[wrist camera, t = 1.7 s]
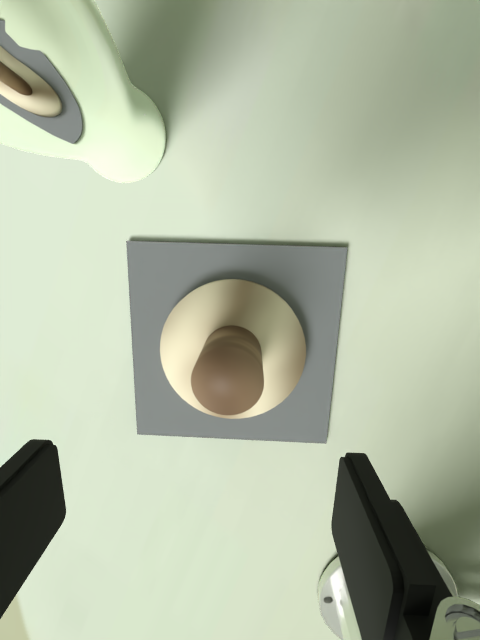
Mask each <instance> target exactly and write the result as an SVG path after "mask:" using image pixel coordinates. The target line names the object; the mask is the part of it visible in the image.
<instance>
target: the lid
mask: <svg viewBox="0 0 480 640" xmlns="http://www.w3.org/2000/svg"><path fill="white" fill-rule="evenodd" d="M160 356H161V362H162V366H163V370H164V372H165V375H166V377H167V379H168V381H169V383H170V384H171V386H172V387H173V389H174V390H175V391H176V392H177V394H178V395H179V396H180V397H181V398H182V399H183V400H185V401H186V402H187V403H188V404H190V405H191V406H193V407H194V408H196V409H198V410H200V411H202V412H204V413H206V414H209V415H212V416H216V417H220V418H228V419H241V418H248V417H253V416H257V415H259V414H262V413H265V412H267V411H269V410H271V409H272V408H274V407H276V406H277V405H278V404H280V403H281V402H282V401H283V400H284V399H286V398H287V397H288V396H289V394H290V393H291V392H292V391H293V390H294V388H295V386H296V385H297V383H298V381H299V379H300V377H301V375H302V372H303V368H304V365H305V358H306V344H305V337H304V333H303V330H302V327H301V325H300V323H299V320H298V319H297V317H296V315H295V314H294V312H293V310H292V309H291V307H290V306H289V305H288V304H287V303H286V301H285V300H283V299H282V298H281V297H280V296H279V295H278V294H276V293H275V292H274V291H272V290H271V289H269V288H267V287H265V286H263V285H261V284H258V283H255V282H252V281H247V280H242V279H223V280H217V281H213V282H210V283H207V284H204V285H202V286H200V287H198V288H196V289H195V290H193V291H192V292H190V293H189V294H188V295H186V296H185V297H184V298H183V299H182V300H181V301H180V302H179V303H178V304H177V305H176V306H175V307H174V308H173V310H172V311H171V313H170V314H169V316H168V318H167V320H166V322H165V324H164V327H163V331H162V334H161V340H160Z"/></svg>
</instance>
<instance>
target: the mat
mask: <svg viewBox="0 0 480 640" xmlns="http://www.w3.org/2000/svg"><path fill="white" fill-rule="evenodd" d="M126 243H127V260H128V278H129V296H130V314H131V331H132V349H133V367H134V385H135V403H136V420H137V434H141V435H161V436H182V437H202V438H223V439H243V440H264V441H284V442H305V443H325V444H326V442H327V433H328V423H329V414H330V405H331V396H332V386H333V377H334V368H335V359H336V349H337V340H338V331H339V321H340V312H341V303H342V294H343V284H344V275H345V266H346V257H347V247H316V246H283V245H249V244H215V243H182V242H148V241H126ZM223 279H242V280H247V281H252V282H255V283H258V284H261V285H263V286H265V287H267V288H269V289H271V290H272V291H274V292H275V293H276V294H278V295H279V296H280V297H281V298H282V299H283V300H285V301H286V303H287V304H288V305H289V306H290V307H291V309H292V310H293V312H294V314H295V315H296V317H297V319H298V320H299V323H300V325H301V327H302V330H303V333H304V337H305V344H306V358H305V365H304V368H303V372H302V375H301V377H300V379H299V381H298V383H297V385H296V386H295V388H294V390H293V391H292V392H291V393H290V394H289V396H288V397H287V398H286V399H284V400H283V401H282V402H281V403H280V404H278V405H277V406H276V407H274V408H272V409H271V410H269V411H267V412H265V413H262V414H259V415H257V416H253V417H248V418H241V419H228V418H220V417H216V416H212V415H209V414H206V413H204V412H202V411H200V410H198V409H196V408H194V407H193V406H191V405H190V404H188V403H187V402H186V401H185V400H183V399H182V398H181V397H180V396H179V395H178V394H177V392H176V391H175V390H174V389H173V387H172V386H171V384H170V383H169V381H168V379H167V377H166V375H165V372H164V370H163V366H162V362H161V356H160V340H161V334H162V331H163V327H164V324H165V322H166V320H167V318H168V316H169V314H170V313H171V311H172V310H173V308H174V307H175V306H176V305H177V304H178V303H179V302H180V301H181V300H182V299H183V298H184V297H185V296H186V295H188V294H189V293H190V292H192V291H193V290H195V289H196V288H198V287H200V286H202V285H204V284H207V283H210V282H213V281H217V280H223Z"/></svg>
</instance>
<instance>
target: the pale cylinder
mask: <svg viewBox="0 0 480 640" xmlns="http://www.w3.org/2000/svg"><path fill="white" fill-rule="evenodd" d="M0 144H3V145H6V146H8V147H11V148H14V149H17V150H21V151H26V152H30V153H35V154H39V155H44V156H49V157H57V158H64V159H72V160H80V161H85V162H86V163H87V164H88V165H89V166H90V167H91V168H92V169H93V170H94V171H96V172H97V173H98V174H100V175H101V176H103V177H104V178H106V179H108V180H111V181H114V182H118V183H132V182H137V181H139V180H142V179H144V178H145V177H147V176H148V175H150V174H151V173H152V172H153V171H154V170H155V169H156V167H157V166H158V165H159V163H160V161H161V159H162V156H163V154H164V150H165V144H166V132H165V126H164V122H163V119H162V116H161V114H160V112H159V110H158V108H157V107H156V105H155V104H154V102H153V101H152V100H151V99H150V98H149V97H148V96H147V95H146V94H145V93H144V92H142V91H141V90H139V89H138V88H136V87H135V86H133V85H132V84H131V82H130V80H129V77H128V75H127V72H126V70H125V67H124V64H123V62H122V59H121V57H120V54H119V52H118V49H117V47H116V44H115V42H114V40H113V37H112V35H111V33H110V31H109V29H108V27H107V25H106V23H105V20H104V18H103V16H102V14H101V12H100V10H99V8H98V6H97V4H96V2H95V1H94V0H0Z"/></svg>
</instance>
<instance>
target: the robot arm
mask: <svg viewBox="0 0 480 640" xmlns="http://www.w3.org/2000/svg"><path fill="white" fill-rule="evenodd" d="M65 515H66V507H65V500H64V492H63V485H62V478H61V471H60V464H59V457H58V450H57V447H56V445H53V443H52V441H50V440H36V439H33V440H30V441H28V442H27V443H26V444H25V445H24V446H23V447H22V448H21V449H20V450H19V451H18V452H16V453H15V454H14V455H13V456H12V457H11V458H10V459H9V460H8V461H7V462H6V463H5V464H4V465H2V466H1V467H0V619H1V617H2V615H3V614H4V612H5V611H6V609H7V608H8V606H9V604H10V603H11V601H12V600H13V599H14V597H15V595H16V594H17V592H18V591H19V589H20V588H21V586H22V585H23V583H24V582H25V580H26V579H27V577H28V575H29V574H30V572H31V571H32V569H33V568H34V566H35V565H36V563H37V562H38V560H39V559H40V557H41V555H42V554H43V552H44V551H45V549H46V548H47V546H48V545H49V543H50V542H51V540H52V539H53V537H54V535H55V534H56V532H57V531H58V529H59V528H60V526H61V525H62V523H63V521H64V518H65ZM332 534H333V538H334V542H335V546H336V549H337V553H338V557H337V558H336V559H335V560H333V561H332V562H331V563H330V564H329V566H328V567H327V568H326V570H325V571H324V572H323V574H322V577H321V579H320V581H319V586H318V602H319V607H320V612H321V616H322V618H323V620H324V622H325V624H326V625H327V626H328V628H329V629H330V630H331V631H332V632H333V633H334V634H335V635H336V636H337V637H339V638H340V639H341V640H480V605H479V604H477V603H475V602H473V601H471V600H469V599H465V598H461V597H458V593H457V588H456V584H455V582H454V580H453V578H452V576H451V574H450V573H449V571H448V570H447V568H446V567H445V565H444V563H443V562H442V561H441V560H440V559H439V558H438V557H437V556H436V555H434V554H433V553H431V552H430V551H428V550H427V549H426V548H425V546H424V545H423V543H422V541H421V539H420V538H419V536H418V534H417V532H416V530H415V529H414V527H413V525H412V523H411V522H410V520H409V518H408V516H407V515H406V513H405V511H404V509H403V507H402V506H401V505H400V503H399V502H398V501H396V500H390V498H389V496H388V494H387V492H386V491H385V489H384V487H383V485H382V483H381V481H380V479H379V477H378V476H377V474H376V472H375V470H374V468H373V466H372V464H371V463H370V461H369V459H368V457H367V455H366V454H364V453H346V455H345V457H341V458H340V461H339V469H338V477H337V484H336V492H335V500H334V508H333V515H332Z"/></svg>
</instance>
